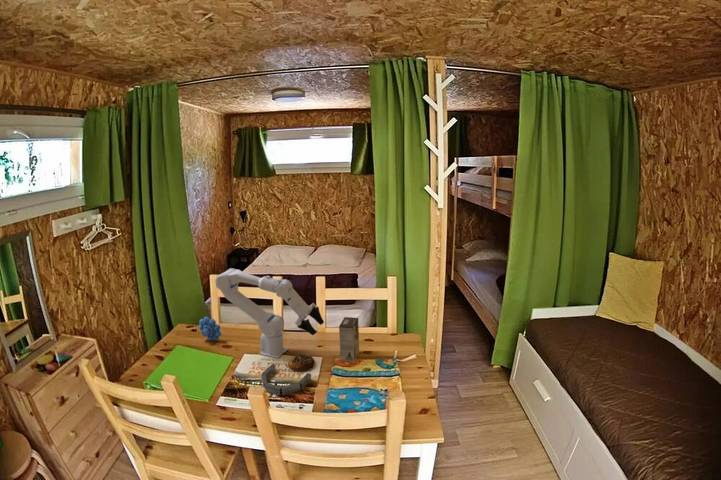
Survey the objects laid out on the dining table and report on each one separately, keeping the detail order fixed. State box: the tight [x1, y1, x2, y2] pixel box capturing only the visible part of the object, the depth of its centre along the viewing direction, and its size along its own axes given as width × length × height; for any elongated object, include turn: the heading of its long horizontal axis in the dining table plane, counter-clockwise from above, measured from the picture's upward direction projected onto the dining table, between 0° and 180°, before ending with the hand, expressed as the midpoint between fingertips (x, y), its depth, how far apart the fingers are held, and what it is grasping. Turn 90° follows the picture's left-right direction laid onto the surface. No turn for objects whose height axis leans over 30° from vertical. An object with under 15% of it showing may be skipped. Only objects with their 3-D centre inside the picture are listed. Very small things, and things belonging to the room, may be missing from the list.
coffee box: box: [338, 316, 360, 363], centre depth 148 cm, size 9×6×16 cm
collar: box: [260, 364, 312, 396], centre depth 131 cm, size 18×12×2 cm
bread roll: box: [287, 353, 315, 372], centre depth 144 cm, size 11×11×5 cm
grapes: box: [198, 316, 223, 342], centre depth 163 cm, size 12×7×12 cm, turn 77°
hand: (318, 328), depth 148 cm, fingers open, 7 cm apart
